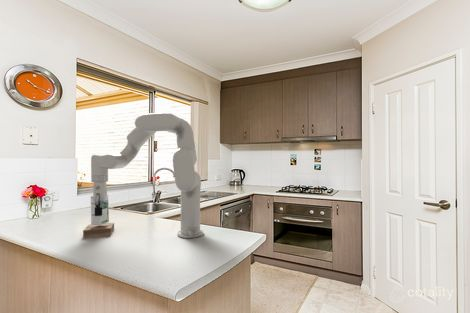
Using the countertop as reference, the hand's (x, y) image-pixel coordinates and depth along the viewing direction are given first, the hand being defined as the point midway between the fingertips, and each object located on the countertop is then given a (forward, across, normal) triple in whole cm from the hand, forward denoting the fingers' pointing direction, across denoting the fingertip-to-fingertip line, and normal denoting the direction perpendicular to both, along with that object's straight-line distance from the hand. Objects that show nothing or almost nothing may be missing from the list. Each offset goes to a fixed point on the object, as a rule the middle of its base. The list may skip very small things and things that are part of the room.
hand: (99, 213), depth 130 cm
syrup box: (+5, 0, 0) cm, 5 cm away
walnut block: (+10, 0, 0) cm, 10 cm away
